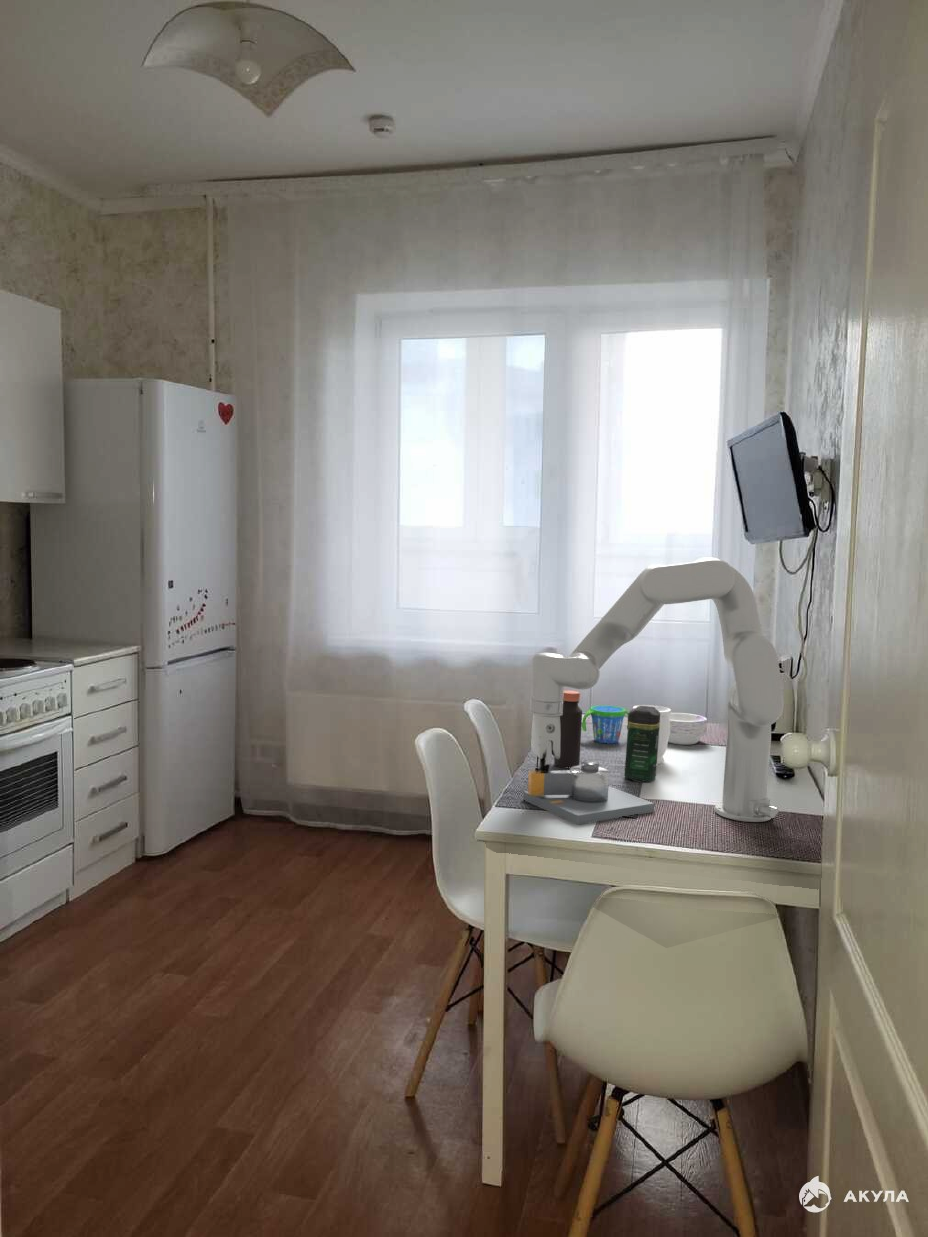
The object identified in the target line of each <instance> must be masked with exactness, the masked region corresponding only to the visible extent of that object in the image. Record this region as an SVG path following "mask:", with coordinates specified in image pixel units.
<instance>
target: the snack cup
mask: <svg viewBox="0 0 928 1237" xmlns="http://www.w3.org/2000/svg"><path fill="white" fill-rule="evenodd" d="M629 712H630V711H627V710H626V709H625V708H623V707H621V706H617V705H616V706H615V705H603V704H602V705H593V706H591V707H589V710H587V711H586V712H585V713H584V715H583V716H582V727H581V730H583V731H582V732H587V723H586V722H587V718H588V717H589V716H591V723H592V735H593V736H592V737H593V739H594V741H595V742H598V743H600V744H606V743H607V744H611V745H612V744H617V743H618V742H619V741H620V737H621V732H622V727H623V722H624V717H625V716H626V715H627V718H628V717H629ZM626 729H627V730H628V724H626Z"/></svg>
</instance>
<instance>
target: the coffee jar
mask: <svg viewBox="0 0 928 1237" xmlns="http://www.w3.org/2000/svg"><path fill="white" fill-rule="evenodd" d="M628 712H629V717H628V716H627V725H628V729H627V734H626V736H627V737H626V746H625V747H626V748H625V749H626V750H625V761H624V762H625V764H624V777H625V779H629V780H632V781H633V782H639V783H641V782H652V781H654V779H656V776H657V768H658V764H657V755H658V741H659V727H660V712H659V711H658V710H657V709H655V707H649V706H639V707H637V708H634V709H633V708H632V709H630V710H629V711H628Z"/></svg>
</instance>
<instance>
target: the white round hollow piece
mask: <svg viewBox="0 0 928 1237" xmlns="http://www.w3.org/2000/svg"><path fill="white" fill-rule="evenodd" d="M669 719H670V735H669V740H668V743H669V744H674V745H682V746H683V745H685V746H689V745H690V746H691V745H696V744H697V743H698V742H699V741H700V739H701V737H703V736H706V735H707V734H708V732H707V731H708V718H707V717H705V716H703V715H699V714H694V713H685V712H671V713H670V714H669Z"/></svg>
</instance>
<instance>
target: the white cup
mask: <svg viewBox="0 0 928 1237" xmlns="http://www.w3.org/2000/svg"><path fill="white" fill-rule="evenodd" d="M639 706H649V707H655V709H657V710H658V711H659V712H660V727H659V741H658V755H657V765H660V764H663V763H664V762H665V758H664V755H665V754H666V751H667V749H668V748H667V747H668V743H669V742H668V740H669V735H670V719H669V714H670V713H672V709H671V708H669V707H665V706H662V705H655V704H653V705H652V704H637V705H634V706H633V707H632V709H634V708H637V707H639Z"/></svg>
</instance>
